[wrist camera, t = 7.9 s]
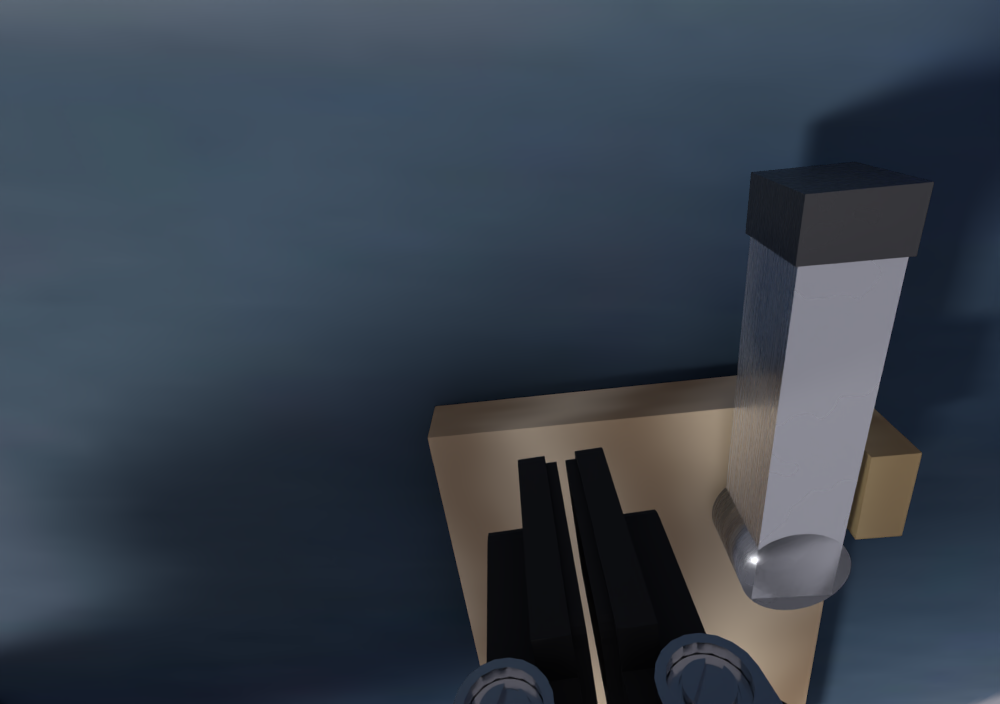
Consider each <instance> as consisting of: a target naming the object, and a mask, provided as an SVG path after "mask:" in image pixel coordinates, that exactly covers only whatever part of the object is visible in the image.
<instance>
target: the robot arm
mask: <svg viewBox="0 0 1000 704" xmlns="http://www.w3.org/2000/svg"><path fill="white" fill-rule="evenodd" d="M565 463H566V470H567V477H568V484H569V491H570V497H571V504H572V511H573V517H574V524H575V531H576V538H577V544H578V551H579V558H580V564H581V570H582V576H583V581H584V587H585V592H586V597H587V602H588V608H589V613H590V618H591V624H592V629H593V634H594V639H595V645H596V650H597V655H598V660H599V666H600V671H601V676H602V681H603V687H604V692H605V697H606V702H607V704H787V703H785V702H783V701H781V700H780V698H779V697H778V695H777V693H776V692H775V690H774V689H773V687H772V686H771V684H770V683H769V681H768V680H767V678H766V676H765V675H764V673H763V672H762V670H761V669H760V667H759V666H758V665H757V663H756V662H755V661H754V660H753V659H752V657H751V656H750V655H749V654H748V653H747V652H746V651H745V650H743V649H742V648H740V647H739V646H738V645H736V644H735V643H733V642H732V641H729V640H727V639H724V638H722V637H719V636H717V635H711V634H706V632H705V630H704V627H703V625H702V622H701V620H700V617H699V615H698V612H697V610H696V607H695V605H694V602H693V600H692V597H691V595H690V592H689V589H688V587H687V584H686V582H685V579H684V577H683V574H682V572H681V569H680V567H679V564H678V562H677V559H676V557H675V554H674V552H673V549H672V547H671V544H670V542H669V539H668V537H667V534H666V532H665V529H664V527H663V524H662V522H661V519H660V517H659V515H658V513H657V511H656V510H655V509H654V510H647V511H640V512H633V513H626V514H623V511H622V508H621V505H620V502H619V498H618V495H617V492H616V489H615V486H614V483H613V479H612V476H611V473H610V470H609V467H608V464H607V460H606V457H605V454H604V451H603V448H602V447H599V448H593V449H586V450H579V451H575V459H570V460H565ZM518 473H519V487H520V501H521V515H522V528H521V529H514V530H507V531H500V532H493V533H489V534H488V542H487V663H485V664H483V665H481V666H479V667H478V668H477V669H476V670H474V671H473V672H472V673H471V674H470V675H468V676H467V678H466V679H465V681H464V682H463V683H462V685H461V686H460V688H459V689H458V692H457V695H456V697H455V700H454V703H453V704H598V702H597V695H596V689H595V682H594V676H593V669H592V662H591V656H590V649H589V643H588V637H587V631H586V625H585V619H584V613H583V607H582V602H581V596H580V591H579V585H578V579H577V574H576V568H575V563H574V557H573V551H572V546H571V540H570V535H569V529H568V523H567V518H566V512H565V507H564V501H563V495H562V490H561V484H560V479H559V473H558V467H557V462H550V463H546V461H545V456H540V457H533V458H526V459H520V460H518Z"/></svg>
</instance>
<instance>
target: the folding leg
mask: <svg viewBox="0 0 1000 704" xmlns="http://www.w3.org/2000/svg"><path fill="white" fill-rule="evenodd" d="M933 185H934V182H932V181H929V180H925V179H921V178H917V177H913V176H909V175H905V174H901V173H897V172H893V171H889V170H885V169H881V168H877V167H873V166H870V165H866V164H862V163H858V162H849V163H839V164H829V165H819V166H809V167H799V168H789V169H779V170H769V171H759V172H751V181H750V191H749V202H748V213H747V223H746V234H748V235H749V236H750V246H749V257H748V267H747V277H746V287H745V297H744V308H743V318H742V328H741V338H740V349H739V359H738V369H737V379H736V389H735V400H734V410H733V420H732V430H731V440H730V451H729V461H728V471H727V481H726V488H725V489H723V491H722V492H721V493H720V494H719V495H718V497H717V498H716V500H715V502H714V505H713V508H712V520H713V523H714V525H715V528H716V530H717V532H718V534H719V537H720V539H721V541H722V543H723V546H724V548H725V550H726V552H727V555H728V557H729V559H730V561H731V564H732V566H733V568H734V570H735V573H736V575H737V577H738V579H739V582H740V584H741V586H742V588H743V591H744V592H745V594H746V595H747V596H748V597H749V598H750V599H751V600H752V601H753V602H755V603H757V604H758V605H761V606H763V607H766V608H770V609H775V610H795V609H801V608H805V607H809V606H812V605H815V604H817V603H819V602H822V601H823V600H825V599H827V598H829V597H830V596H832V595H833V594H834V593H835V592H837V591H838V590H839V589H840V588H841V587H842V586H843V584H844V583H845V581H846V580H847V578H848V576H849V573H850V570H851V559H850V555H849V553H848V551H847V550H846V548H845V547H844V546H843V541H844V537H845V533H846V528H847V524H848V519H849V515H850V511H851V506H852V502H853V498H854V493H855V489H856V485H857V480H858V476H859V471H860V467H861V463H862V458H863V454H864V450H865V445H866V441H867V437H868V432H869V428H870V423H871V419H872V415H873V410H874V406H875V402H876V397H877V393H878V389H879V384H880V380H881V375H882V371H883V367H884V362H885V358H886V354H887V349H888V345H889V341H890V336H891V332H892V328H893V323H894V319H895V314H896V310H897V306H898V301H899V297H900V293H901V288H902V284H903V280H904V275H905V271H906V266H907V262H908V258H909V257H914V256H917V253H918V248H919V244H920V240H921V236H922V231H923V227H924V223H925V219H926V214H927V210H928V206H929V202H930V197H931V193H932V189H933Z"/></svg>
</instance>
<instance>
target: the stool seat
mask: <svg viewBox="0 0 1000 704" xmlns="http://www.w3.org/2000/svg"><path fill="white" fill-rule="evenodd" d="M736 379H737V375H736V376H726V377H716V378H707V379H697V380H687V381H677V382H668V383H658V384H648V385H638V386H629V387H619V388H609V389H599V390H590V391H580V392H570V393H560V394H551V395H541V396H531V397H521V398H512V399H502V400H492V401H483V402H473V403H463V404H453V405H444V406H435V409H434V413H433V417H432V421H431V426H430V430H429V434H428V442H429V446H430V451H431V455H432V459H433V464H434V468H435V472H436V477H437V481H438V485H439V490H440V494H441V498H442V503H443V507H444V511H445V516H446V520H447V524H448V529H449V533H450V537H451V542H452V546H453V550H454V555H455V559H456V563H457V568H458V572H459V576H460V581H461V585H462V589H463V594H464V598H465V602H466V607H467V611H468V615H469V620H470V624H471V628H472V633H473V637H474V641H475V646H476V650H477V654H478V658H479V663H480V666H481V665H483V664H485V663H487V542H488V534H489V533H493V532H500V531H507V530H514V529H521V528H522V515H521V501H520V487H519V473H518V460H520V459H526V458H533V457H540V456H545V461H546V463H550V462H557V467H558V473H559V479H560V484H561V490H562V495H563V501H564V507H565V512H566V518H567V523H568V529H569V535H570V540H571V546H572V551H573V557H574V563H575V568H576V574H577V579H578V585H579V591H580V596H581V602H582V607H583V613H584V619H585V625H586V631H587V637H588V643H589V649H590V656H591V662H592V669H593V676H594V682H595V689H596V695H597V702H598V704H607V702H606V697H605V692H604V687H603V681H602V676H601V671H600V666H599V660H598V655H597V650H596V645H595V639H594V634H593V629H592V624H591V618H590V613H589V608H588V602H587V597H586V592H585V587H584V581H583V576H582V570H581V564H580V558H579V551H578V544H577V538H576V531H575V524H574V517H573V511H572V504H571V497H570V491H569V484H568V477H567V470H566V463H565V460H570V459H575V451H579V450H586V449H593V448H599V447H602V448H603V451H604V454H605V457H606V460H607V464H608V467H609V470H610V473H611V476H612V479H613V483H614V486H615V489H616V492H617V495H618V498H619V502H620V505H621V508H622V511H623V514H626V513H633V512H640V511H647V510H654V509H655V510H656V511H657V513H658V515H659V517H660V519H661V522H662V524H663V527H664V529H665V532H666V534H667V537H668V539H669V542H670V544H671V547H672V549H673V552H674V554H675V557H676V559H677V562H678V564H679V567H680V569H681V572H682V574H683V577H684V579H685V582H686V584H687V587H688V589H689V592H690V595H691V597H692V600H693V602H694V605H695V607H696V610H697V612H698V615H699V617H700V620H701V622H702V625H703V627H704V630H705V632H706V634H711V635H717V636H719V637H722V638H724V639H727V640H729V641H732V642H733V643H735V644H736V645H738V646H739V647H740V648H742V649H743V650H745V651H746V652H747V653H748V654H749V655H750V656H751V657H752V659H753V660H754V661H755V662H756V663H757V665H758V666H759V667H760V669H761V670H762V672H763V673H764V675H765V676H766V678H767V680H768V681H769V683H770V684H771V686H772V687H773V689H774V690H775V692H776V693H777V695H778V697H779V698H780V700H781V701H783V702H785V703H787V704H806V698H807V693H808V687H809V681H810V676H811V670H812V664H813V659H814V653H815V647H816V642H817V636H818V631H819V625H820V619H821V614H822V608H823V602H824V600H823V601H822V602H819V603H817V604H815V605H812V606H809V607H805V608H801V609H795V610H775V609H770V608H766V607H763V606H761V605H758V604H757V603H755V602H753V601H752V600H751V599H750V598H749V597H748V596H747V595H746V594H745V592H744V591H743V588H742V586H741V584H740V582H739V579H738V577H737V575H736V573H735V570H734V568H733V566H732V564H731V561H730V559H729V557H728V555H727V552H726V550H725V548H724V546H723V543H722V541H721V539H720V537H719V534H718V532H717V530H716V528H715V525H714V523H713V520H712V508H713V505H714V502H715V500H716V498H717V497H718V495H719V494H720V493H721V492H722V491H723V489H725V488H726V481H727V471H728V461H729V451H730V440H731V430H732V420H733V410H734V400H735V389H736ZM921 456H922V452H921V451H920V450H918V449H917V448H916V447H915V446H914V445H913V444H912V443H911V442H910V441H909V440H908V439H907V438H906V437H904V436H903V435H902V434H901V433H900V432H899V431H898V430H897V429H896V428H895V427H894V426H893V425H891V424H890V423H889V422H888V421H887V420H886V419H885V418H884V417H883V416H882V415H881V414H880V413H879V412H877V411H876V410H875V409H874V410H873V415H872V419H871V423H870V428H869V432H868V437H867V441H866V445H865V450H864V454H863V458H862V463H861V467H860V471H859V476H858V480H857V485H856V489H855V493H854V498H853V502H852V506H851V511H850V515H849V519H848V524H847V529H848V530H849V531H850V533H851V534H852V536H853V537H854V538H855V539H868V538H881V537H893V536H902V532H903V528H904V524H905V520H906V516H907V512H908V508H909V504H910V500H911V496H912V492H913V488H914V484H915V480H916V476H917V472H918V468H919V464H920V460H921Z"/></svg>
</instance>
